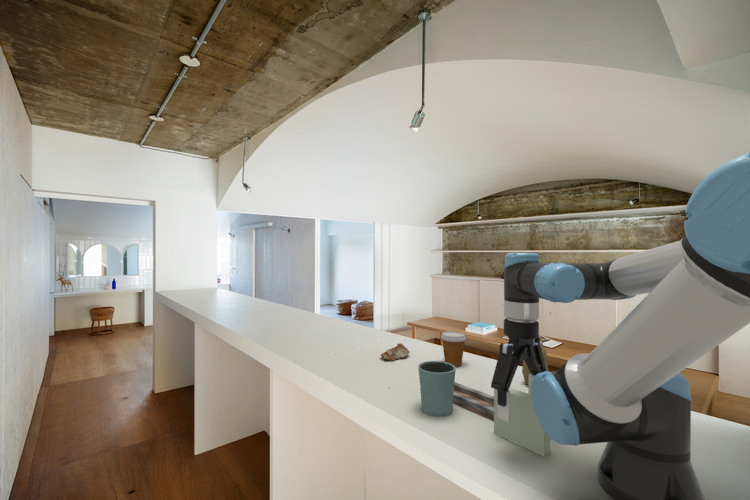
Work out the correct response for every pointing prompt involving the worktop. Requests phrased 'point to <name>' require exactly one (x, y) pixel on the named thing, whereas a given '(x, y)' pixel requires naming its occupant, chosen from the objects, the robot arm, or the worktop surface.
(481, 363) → the worktop surface
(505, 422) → the door panel
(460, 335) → the disposable coffee cup
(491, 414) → the track base
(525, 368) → the squeeze bottle
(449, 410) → the teal cup
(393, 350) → the decorative stone
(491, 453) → the worktop surface
